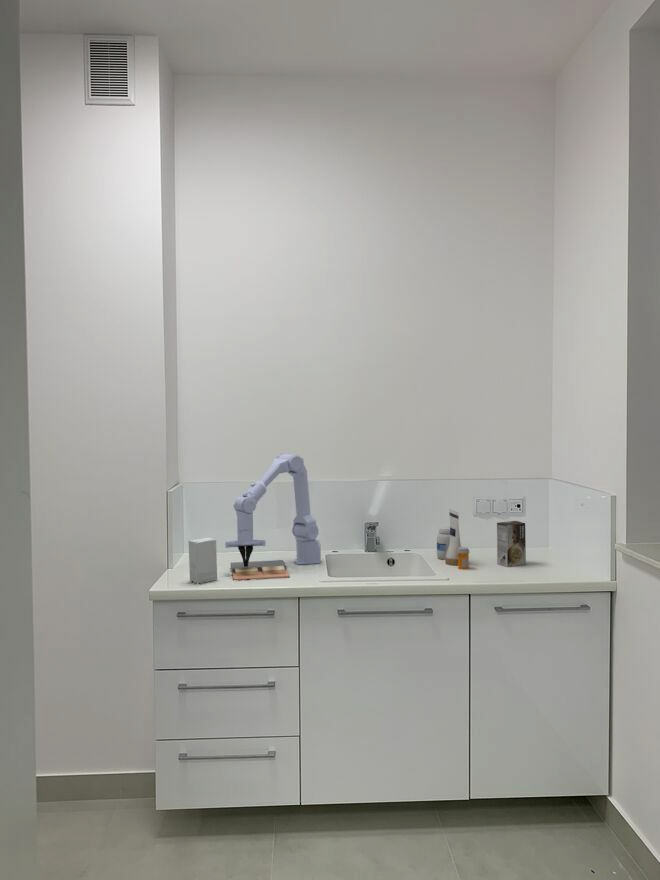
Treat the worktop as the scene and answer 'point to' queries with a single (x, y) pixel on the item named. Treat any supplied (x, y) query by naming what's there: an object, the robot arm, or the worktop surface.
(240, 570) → the outer tile
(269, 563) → the grey board
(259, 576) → the mat
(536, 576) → the worktop surface
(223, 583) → the worktop surface
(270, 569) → the inner tile
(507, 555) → the coffee box
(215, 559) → the skincare box
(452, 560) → the toiletry set
